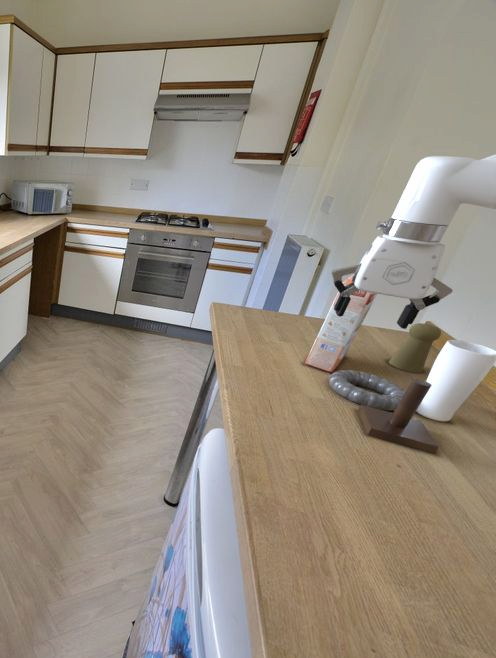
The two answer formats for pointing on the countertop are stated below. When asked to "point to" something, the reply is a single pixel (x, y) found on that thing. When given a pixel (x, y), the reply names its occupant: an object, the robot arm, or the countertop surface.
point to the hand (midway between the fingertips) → (368, 320)
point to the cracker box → (339, 331)
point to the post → (401, 420)
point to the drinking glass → (455, 378)
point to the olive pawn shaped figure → (415, 348)
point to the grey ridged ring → (344, 387)
